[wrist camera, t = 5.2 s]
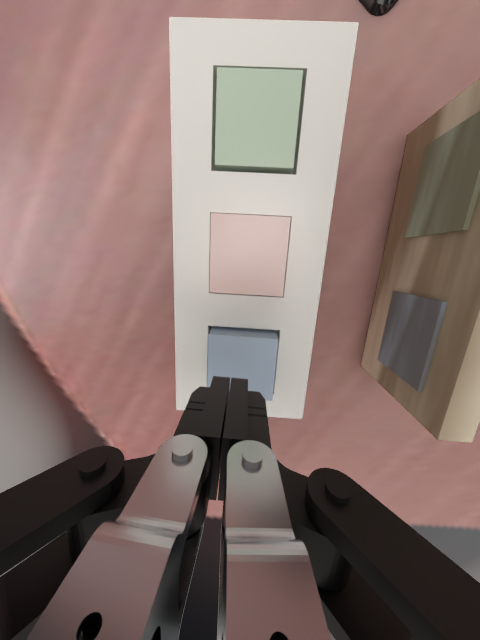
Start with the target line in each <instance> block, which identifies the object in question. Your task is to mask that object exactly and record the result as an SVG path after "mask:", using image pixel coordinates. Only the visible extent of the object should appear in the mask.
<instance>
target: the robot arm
mask: <svg viewBox="0 0 480 640" xmlns="http://www.w3.org/2000/svg"><path fill="white" fill-rule="evenodd" d="M229 388H230V391H229ZM219 474H220V481H219ZM218 481H219V495H218V500H222V501H224V502H223V514H222V527H221V549H220V550H221V551H220V577H219V606H218V631H217V632H218V633H217V640H331V639H330V635H329V631H330V632H331V633H332V635H333V636H334V638H335V639H336V640H480V583H479V582H478V581H476V580H475V579H474V578H472V577H471V576H470V575H469V574H468V573H466V572H465V571H464V570H463V569H462V568H460V567H459V566H458V565H457V564H455V563H454V562H453V561H452V560H451V559H449V558H448V557H447V556H446V555H444V554H443V553H442V552H441V551H440V550H438V549H437V548H436V547H434V546H433V545H432V544H431V543H430V542H428V541H427V540H426V539H425V538H424V537H422V536H421V535H420V534H418V533H417V532H416V531H415V530H414V529H413V528H411V527H410V526H409V525H408V524H406V523H405V522H404V521H403V520H401V519H400V518H399V517H398V516H397V515H395V514H394V513H393V512H392V511H390V510H389V509H388V508H387V507H386V506H384V505H383V504H382V503H381V502H379V501H378V500H377V499H376V498H374V497H373V496H372V495H371V494H370V493H368V492H367V491H366V490H365V489H363V488H362V487H361V486H360V485H359V484H357V483H356V482H355V481H354V480H352V479H351V478H350V477H348V476H347V475H345V474H344V473H342V472H340V471H337V470H334V469H330V468H320V469H316V470H315V471H313V472H312V473H311V474H310V476H309V477H306V476H304V475H301V474H299V473H296V472H294V471H291V470H289V469H288V468H286V467H285V466H283V465H282V464H281V463H280V462H279V461H278V460H277V459H276V456H275V454H274V453H273V451H272V450H271V443H270V435H269V426H268V418H267V410H266V401H265V398H264V397H263V396H262V394H261V393H260V392H256V391H248V379H243V378H231V384H230V377H220V376H213V379H212V382H211V385H210V387H201V386H200V387H198V388H197V389H196V390H195V391H194V392H192V394H191V396H190V399H189V401H188V403H187V406H186V408H185V410H184V413H183V415H182V417H181V420H180V422H179V424H178V427H177V429H176V431H175V434H174V436H173V437H171V438H169V439H168V440H166V441H165V442H164V443H163V444H162V445H161V446H160V447H159V449H158V450H157V452H156V453H155V454H153V455H150V456H147V457H142V458H137V459H131V460H126V461H124V455H123V453H122V452H121V451H120V450H119V449H117V448H115V447H111V446H101V447H96V448H92V449H89V450H87V451H85V452H82V453H81V454H79V455H76V456H75V457H72V458H71V459H68V460H66V461H64V462H62V463H60V464H58V465H56V466H54V467H52V468H50V469H48V470H46V471H44V472H42V473H41V474H38V475H36V476H34V477H32V478H30V479H28V480H26V481H24V482H22V483H20V484H18V485H16V486H14V487H12V488H10V489H8V490H6V491H4V492H2V493H0V575H2V574H3V573H5V572H6V571H8V570H9V569H11V568H12V567H14V566H15V565H16V564H18V563H19V562H21V561H22V560H24V559H25V558H27V557H28V556H30V555H31V554H32V553H34V552H35V551H37V550H38V549H40V548H41V547H43V546H44V545H46V544H47V543H49V542H50V541H51V540H53V539H54V538H56V537H57V536H59V535H60V534H62V533H63V532H65V531H66V532H65V533H64V534H62V535H61V536H60V537H58V538H56V539H55V540H54V541H52V542H51V543H49V544H48V545H46V546H45V547H44V548H42V549H41V550H39V551H38V552H36V553H35V554H33V555H32V556H30V557H29V558H27V559H26V560H25V561H23V562H22V563H20V564H19V565H17V566H16V567H14V568H13V569H11V570H10V571H9V572H7V573H6V574H4V575H3V576H1V577H0V640H178V637H179V630H180V625H181V620H182V615H183V611H184V607H185V603H186V599H187V595H188V590H189V586H190V582H191V578H192V574H193V569H194V565H195V561H196V557H197V552H198V548H199V544H200V539H201V536H202V531H203V526H204V520H205V517H206V513H207V507H208V501H209V499H210V500H216V496H217V489H218ZM328 629H329V631H328Z"/></svg>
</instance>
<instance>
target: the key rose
mask: <svg viewBox="0 0 480 640" xmlns="http://www.w3.org/2000/svg"><path fill="white" fill-rule="evenodd" d="M290 221H291V217H281V216H261V215H242V214H222V213H211V234H210V283H209V292H212V293H229V294H246V295H262V296H279V297H283V290H284V280H285V271H286V261H287V251H288V241H289V231H290Z"/></svg>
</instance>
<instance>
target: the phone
mask: <svg viewBox="0 0 480 640" xmlns="http://www.w3.org/2000/svg"><path fill="white" fill-rule="evenodd" d="M359 1H360V2H361V4H362V5H363V6H364V7H365V8H366V10H367V11H368V12H369V13H371V14H372V15H375V16H382V15H384V14H386V13H387V12H388V11H389V10H391V9H392V7H393V6H394V5H395V4H396V2H397V1H398V0H359Z"/></svg>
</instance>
